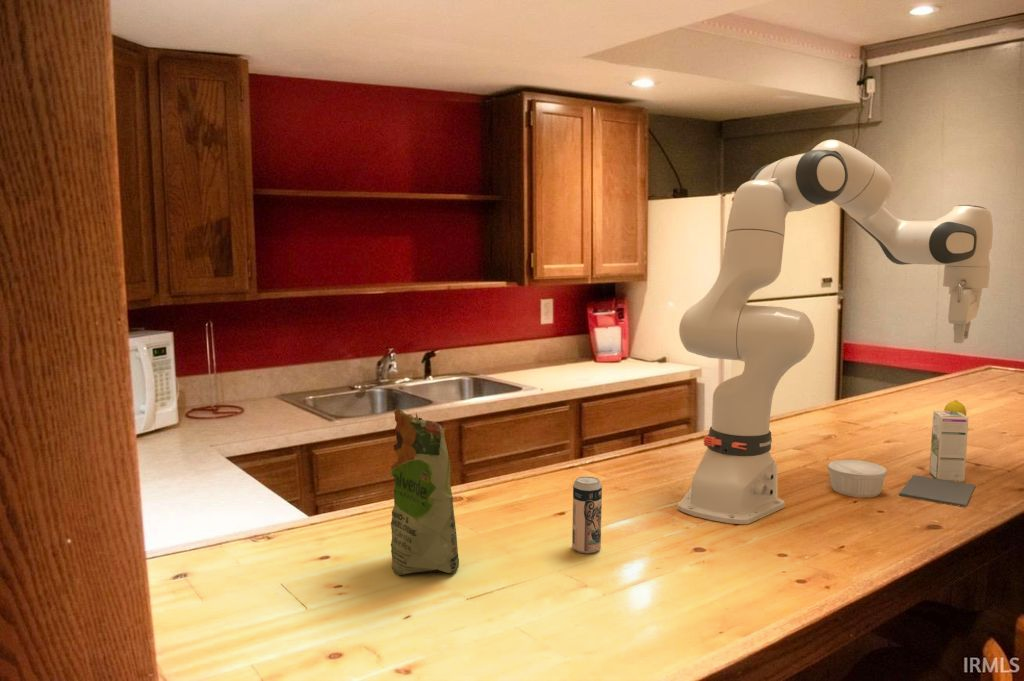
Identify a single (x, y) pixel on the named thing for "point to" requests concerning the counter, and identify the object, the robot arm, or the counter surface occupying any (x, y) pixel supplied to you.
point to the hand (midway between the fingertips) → (961, 340)
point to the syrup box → (949, 445)
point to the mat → (938, 490)
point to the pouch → (422, 499)
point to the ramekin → (856, 478)
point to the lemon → (955, 407)
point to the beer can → (587, 515)
